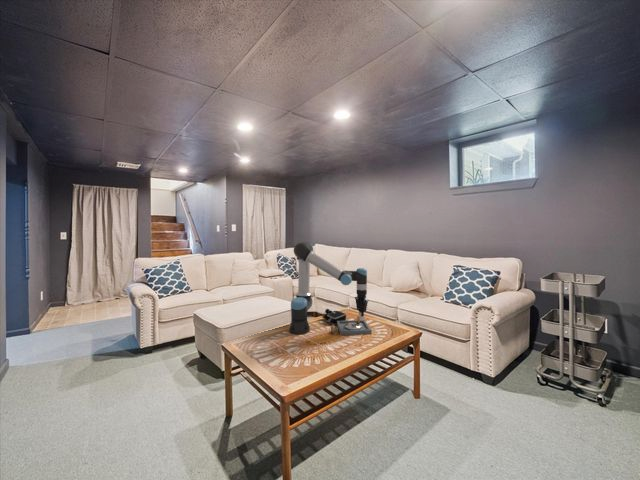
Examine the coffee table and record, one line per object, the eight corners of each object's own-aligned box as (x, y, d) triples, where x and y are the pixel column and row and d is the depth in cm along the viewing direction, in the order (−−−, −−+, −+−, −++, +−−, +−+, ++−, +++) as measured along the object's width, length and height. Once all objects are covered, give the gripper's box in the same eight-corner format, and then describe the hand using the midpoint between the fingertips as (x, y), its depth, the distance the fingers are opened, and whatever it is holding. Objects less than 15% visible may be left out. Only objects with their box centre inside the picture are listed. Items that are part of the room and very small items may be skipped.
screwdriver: (332, 334, 206) (332, 331, 206) (330, 326, 222) (330, 323, 222) (336, 334, 206) (336, 330, 206) (334, 326, 222) (334, 323, 222)
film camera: (319, 321, 236) (331, 316, 247) (333, 327, 225) (346, 322, 235) (319, 311, 235) (332, 306, 246) (334, 317, 224) (347, 312, 234)
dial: (361, 330, 209) (361, 321, 209) (343, 329, 212) (343, 320, 212) (362, 324, 222) (362, 316, 222) (345, 323, 225) (345, 315, 225)
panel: (340, 334, 205) (340, 331, 205) (336, 324, 227) (336, 320, 227) (371, 333, 207) (371, 330, 206) (364, 323, 228) (364, 320, 228)
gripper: (371, 290, 214) (371, 321, 215) (359, 286, 225) (359, 317, 226) (363, 291, 210) (363, 323, 211) (352, 288, 221) (351, 318, 222)
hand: (361, 320), depth 219 cm, fingers closed
